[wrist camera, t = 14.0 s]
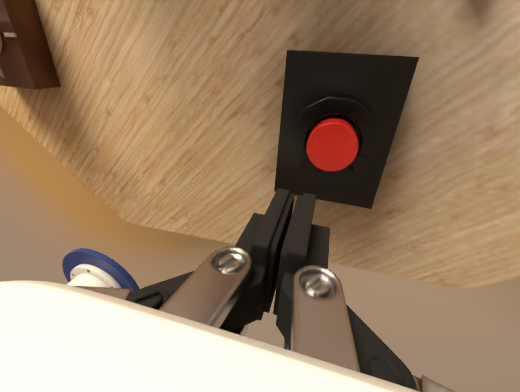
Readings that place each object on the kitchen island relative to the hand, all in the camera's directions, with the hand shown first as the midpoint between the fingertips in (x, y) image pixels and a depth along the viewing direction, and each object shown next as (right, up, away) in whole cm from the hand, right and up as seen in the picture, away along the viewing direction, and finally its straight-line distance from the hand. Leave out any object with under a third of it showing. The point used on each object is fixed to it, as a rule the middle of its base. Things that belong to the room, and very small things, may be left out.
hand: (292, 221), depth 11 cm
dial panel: (-29, +19, +17) cm, 39 cm away
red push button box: (+5, +7, +12) cm, 15 cm away
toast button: (+4, +5, +9) cm, 11 cm away
